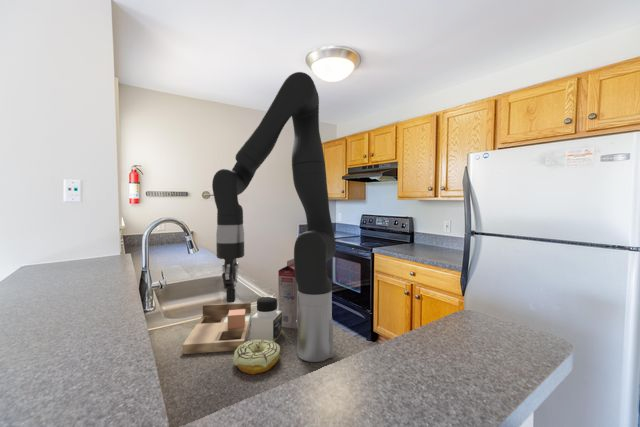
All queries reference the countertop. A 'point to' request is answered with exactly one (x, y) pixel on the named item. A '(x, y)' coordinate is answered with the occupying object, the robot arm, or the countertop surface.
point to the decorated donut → (256, 356)
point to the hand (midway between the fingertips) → (231, 301)
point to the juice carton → (288, 295)
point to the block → (236, 318)
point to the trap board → (217, 330)
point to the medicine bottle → (266, 320)
